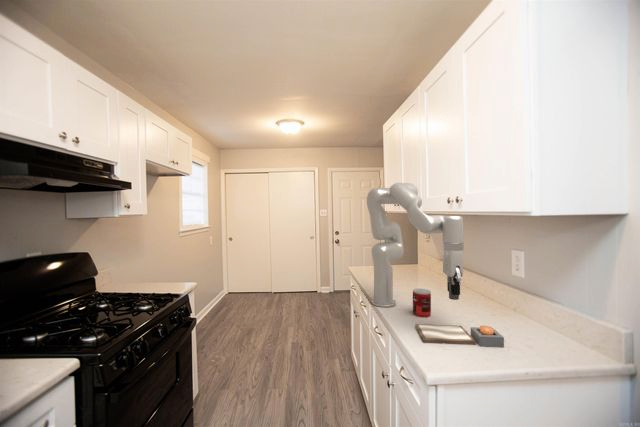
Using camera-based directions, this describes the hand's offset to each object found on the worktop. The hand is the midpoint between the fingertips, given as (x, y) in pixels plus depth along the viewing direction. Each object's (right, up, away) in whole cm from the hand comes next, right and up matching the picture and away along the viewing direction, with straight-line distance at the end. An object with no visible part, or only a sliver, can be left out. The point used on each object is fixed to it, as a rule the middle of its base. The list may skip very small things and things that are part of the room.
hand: (453, 292), depth 113 cm
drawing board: (-5, -16, -3) cm, 17 cm away
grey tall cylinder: (0, -2, 0) cm, 2 cm away
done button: (+8, -14, -9) cm, 18 cm away
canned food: (-6, -16, +19) cm, 25 cm away
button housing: (+8, -16, -9) cm, 19 cm away
